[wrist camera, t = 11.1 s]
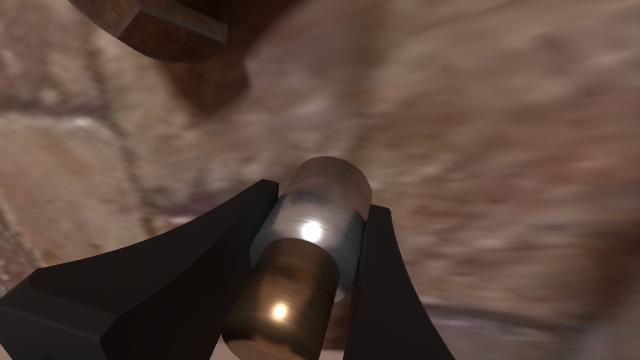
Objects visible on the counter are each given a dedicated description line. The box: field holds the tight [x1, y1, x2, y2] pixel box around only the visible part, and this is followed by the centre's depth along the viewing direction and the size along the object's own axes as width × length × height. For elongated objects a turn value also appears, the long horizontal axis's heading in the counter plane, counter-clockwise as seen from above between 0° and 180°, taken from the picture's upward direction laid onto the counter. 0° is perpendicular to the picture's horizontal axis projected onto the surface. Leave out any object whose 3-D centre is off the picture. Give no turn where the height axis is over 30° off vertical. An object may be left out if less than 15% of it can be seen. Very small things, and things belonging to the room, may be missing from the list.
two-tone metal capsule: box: [221, 156, 372, 360], centre depth 11 cm, size 3×3×6 cm
